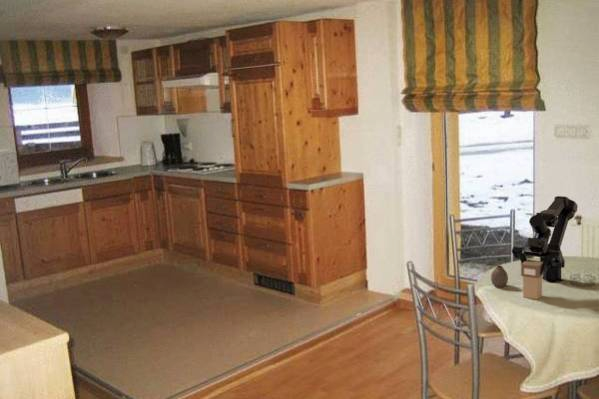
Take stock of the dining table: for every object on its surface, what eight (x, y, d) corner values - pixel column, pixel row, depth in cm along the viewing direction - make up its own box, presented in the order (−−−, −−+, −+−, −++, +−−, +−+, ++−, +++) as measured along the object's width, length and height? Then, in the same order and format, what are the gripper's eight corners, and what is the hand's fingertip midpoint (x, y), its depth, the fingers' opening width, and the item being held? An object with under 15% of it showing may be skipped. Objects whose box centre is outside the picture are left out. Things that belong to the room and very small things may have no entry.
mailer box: (528, 293, 260) (528, 269, 258) (542, 295, 256) (542, 271, 254) (523, 297, 255) (523, 272, 253) (537, 299, 252) (537, 274, 250)
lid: (527, 271, 259) (527, 259, 258) (544, 273, 254) (544, 261, 254) (521, 276, 253) (521, 264, 253) (538, 278, 249) (538, 266, 248)
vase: (508, 288, 266) (508, 268, 265) (491, 288, 268) (491, 268, 266) (507, 283, 273) (506, 263, 271) (490, 283, 274) (490, 263, 273)
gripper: (513, 227, 259) (503, 260, 253) (560, 231, 248) (551, 266, 242) (520, 241, 267) (510, 273, 261) (566, 246, 255) (557, 280, 249)
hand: (531, 273), depth 253 cm, fingers closed on lid, 7 cm apart
